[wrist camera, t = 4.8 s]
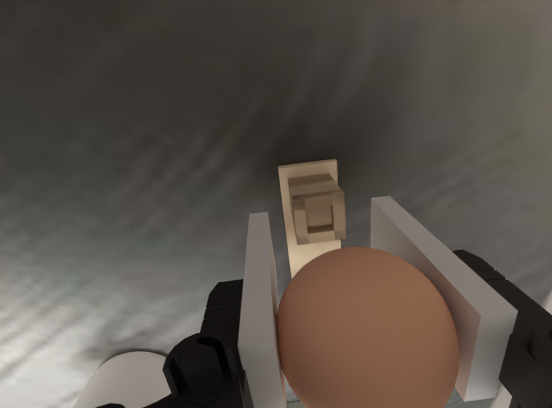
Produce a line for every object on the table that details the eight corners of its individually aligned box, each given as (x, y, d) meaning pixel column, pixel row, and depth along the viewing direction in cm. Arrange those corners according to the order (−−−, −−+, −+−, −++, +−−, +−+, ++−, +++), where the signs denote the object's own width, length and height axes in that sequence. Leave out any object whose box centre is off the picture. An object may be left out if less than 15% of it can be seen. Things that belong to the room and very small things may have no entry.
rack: (277, 166, 18) (280, 187, 14) (334, 158, 18) (353, 178, 14) (304, 386, 26) (312, 442, 22) (345, 381, 26) (360, 436, 22)
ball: (263, 228, 9) (265, 357, 5) (409, 210, 9) (536, 321, 5) (280, 336, 10) (292, 497, 6) (402, 321, 10) (491, 472, 6)
